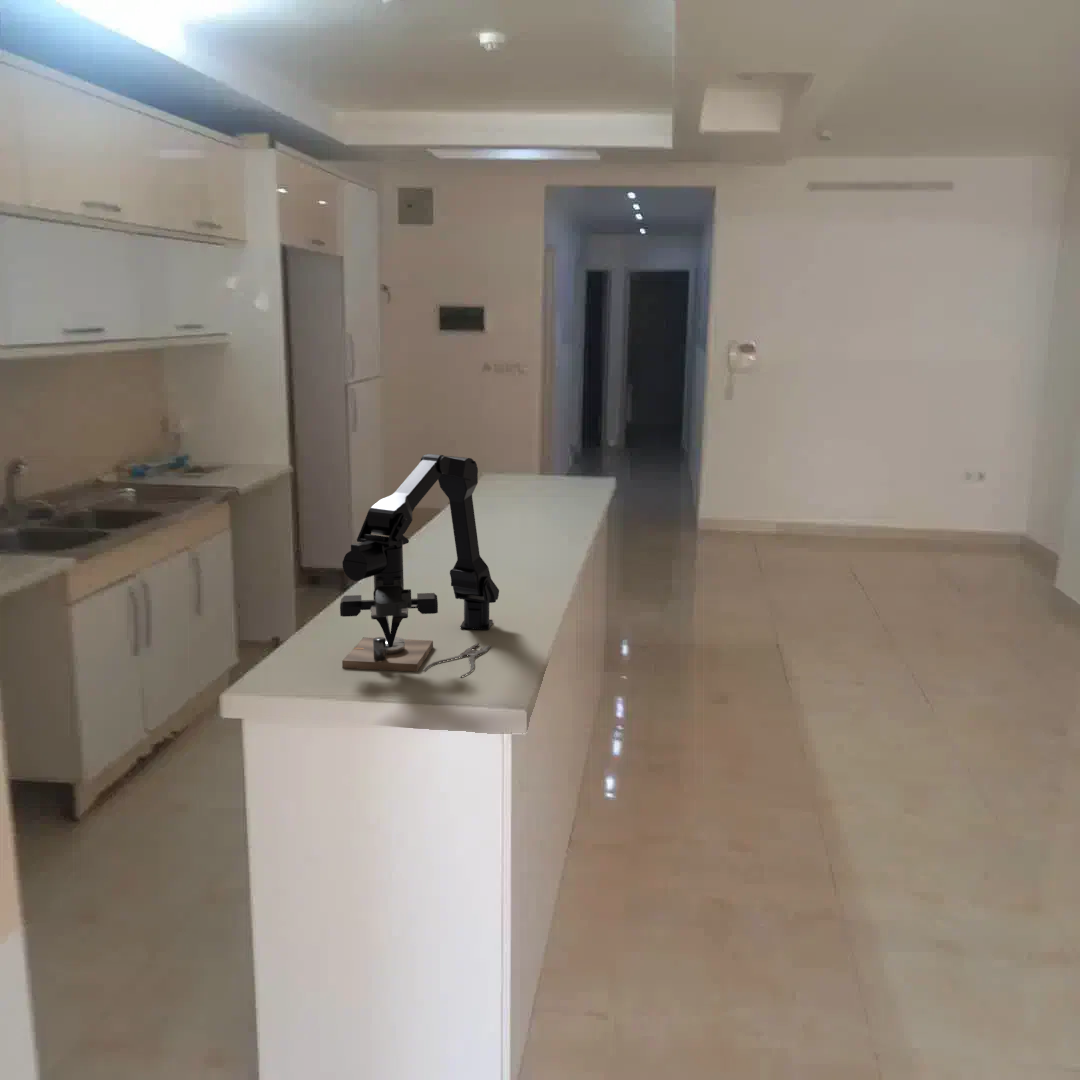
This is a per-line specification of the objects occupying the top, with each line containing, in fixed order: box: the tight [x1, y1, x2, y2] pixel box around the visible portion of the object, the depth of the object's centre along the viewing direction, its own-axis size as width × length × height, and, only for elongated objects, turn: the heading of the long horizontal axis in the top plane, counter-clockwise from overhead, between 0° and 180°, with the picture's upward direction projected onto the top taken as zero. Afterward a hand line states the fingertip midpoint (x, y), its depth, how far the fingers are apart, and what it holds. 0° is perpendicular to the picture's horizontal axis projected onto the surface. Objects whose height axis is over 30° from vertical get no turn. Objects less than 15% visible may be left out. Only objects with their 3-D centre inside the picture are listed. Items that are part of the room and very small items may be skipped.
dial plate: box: [341, 636, 434, 672], centre depth 206 cm, size 15×15×2 cm
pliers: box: [422, 642, 491, 677], centre depth 206 cm, size 10×1×20 cm
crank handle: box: [373, 636, 405, 660], centre depth 204 cm, size 10×6×4 cm, turn 171°
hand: (390, 646), depth 200 cm, fingers closed
